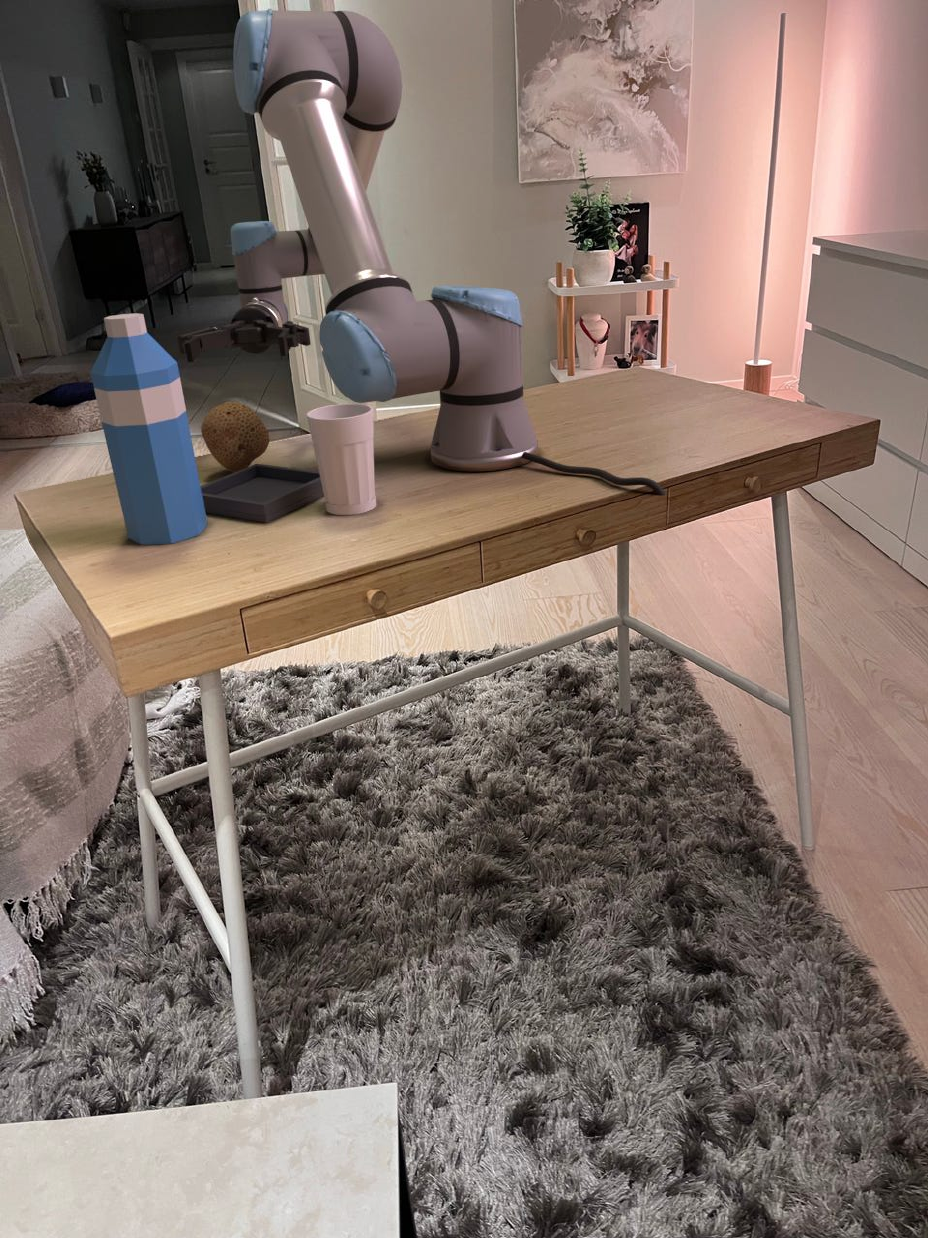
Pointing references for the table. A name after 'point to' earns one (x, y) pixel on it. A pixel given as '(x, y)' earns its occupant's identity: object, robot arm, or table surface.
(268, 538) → the table surface
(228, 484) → the soap dish
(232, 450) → the natural sponge
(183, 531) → the water bottle
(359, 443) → the cup
